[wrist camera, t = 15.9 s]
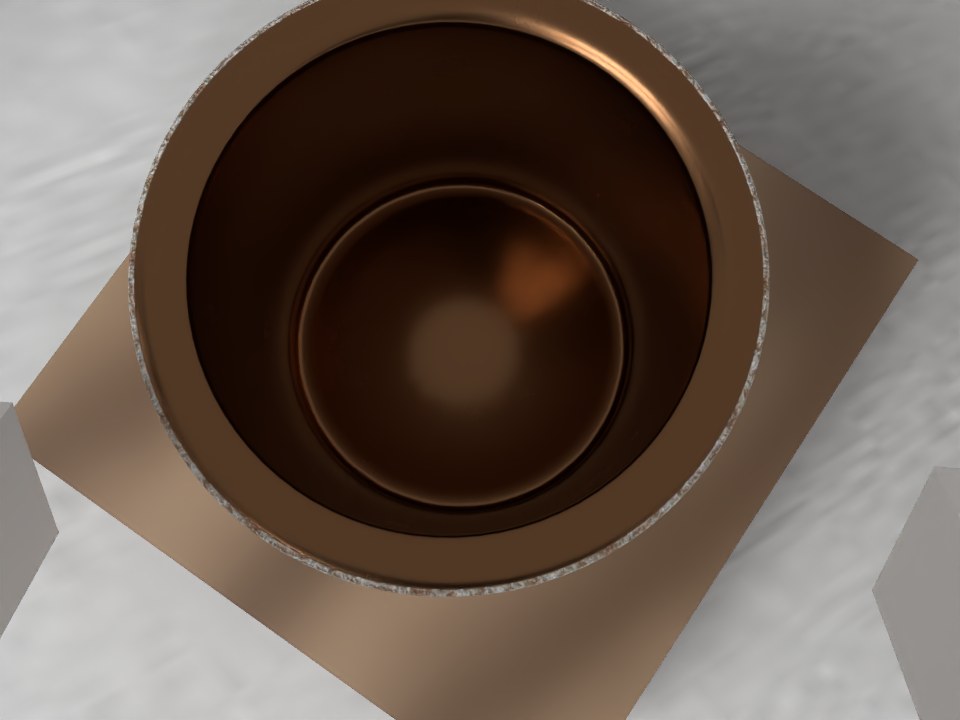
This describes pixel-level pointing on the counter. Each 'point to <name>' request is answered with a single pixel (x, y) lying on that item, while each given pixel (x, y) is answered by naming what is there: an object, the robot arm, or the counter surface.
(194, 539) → the plant stand
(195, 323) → the planter
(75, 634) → the counter surface
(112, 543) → the counter surface
